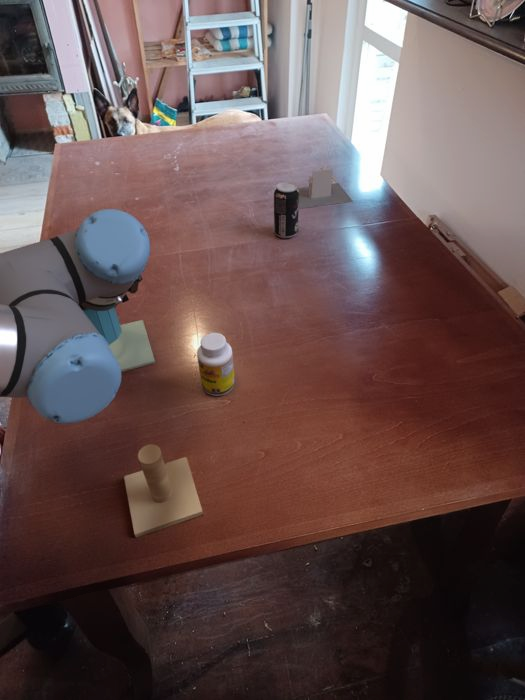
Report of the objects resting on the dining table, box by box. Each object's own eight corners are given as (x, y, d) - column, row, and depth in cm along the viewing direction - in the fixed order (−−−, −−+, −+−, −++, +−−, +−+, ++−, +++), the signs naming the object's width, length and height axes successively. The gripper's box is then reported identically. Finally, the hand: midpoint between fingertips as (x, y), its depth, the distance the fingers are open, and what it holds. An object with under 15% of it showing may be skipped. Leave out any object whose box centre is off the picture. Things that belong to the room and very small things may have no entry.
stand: (135, 538, 62) (117, 497, 54) (125, 479, 68) (107, 436, 60) (203, 514, 64) (194, 472, 56) (187, 460, 70) (177, 415, 62)
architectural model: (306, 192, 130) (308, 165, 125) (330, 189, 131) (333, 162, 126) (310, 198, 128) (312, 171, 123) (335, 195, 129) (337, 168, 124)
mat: (61, 387, 80) (60, 385, 80) (57, 342, 89) (56, 340, 88) (155, 363, 84) (154, 360, 84) (143, 321, 92) (142, 319, 92)
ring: (78, 353, 80) (62, 314, 74) (74, 325, 85) (59, 287, 79) (124, 342, 81) (112, 303, 76) (118, 315, 87) (106, 276, 81)
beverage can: (293, 226, 117) (294, 179, 109) (300, 237, 113) (303, 190, 105) (271, 229, 116) (270, 182, 108) (277, 241, 112) (278, 193, 104)
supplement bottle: (195, 385, 80) (187, 341, 73) (219, 368, 83) (214, 323, 76) (217, 403, 77) (211, 359, 70) (242, 384, 80) (238, 340, 73)
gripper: (36, 336, 59) (38, 356, 79) (182, 275, 67) (149, 307, 88) (6, 281, 58) (16, 316, 78) (157, 226, 67) (131, 270, 87)
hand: (86, 311), depth 83 cm, fingers closed on ring, 8 cm apart
